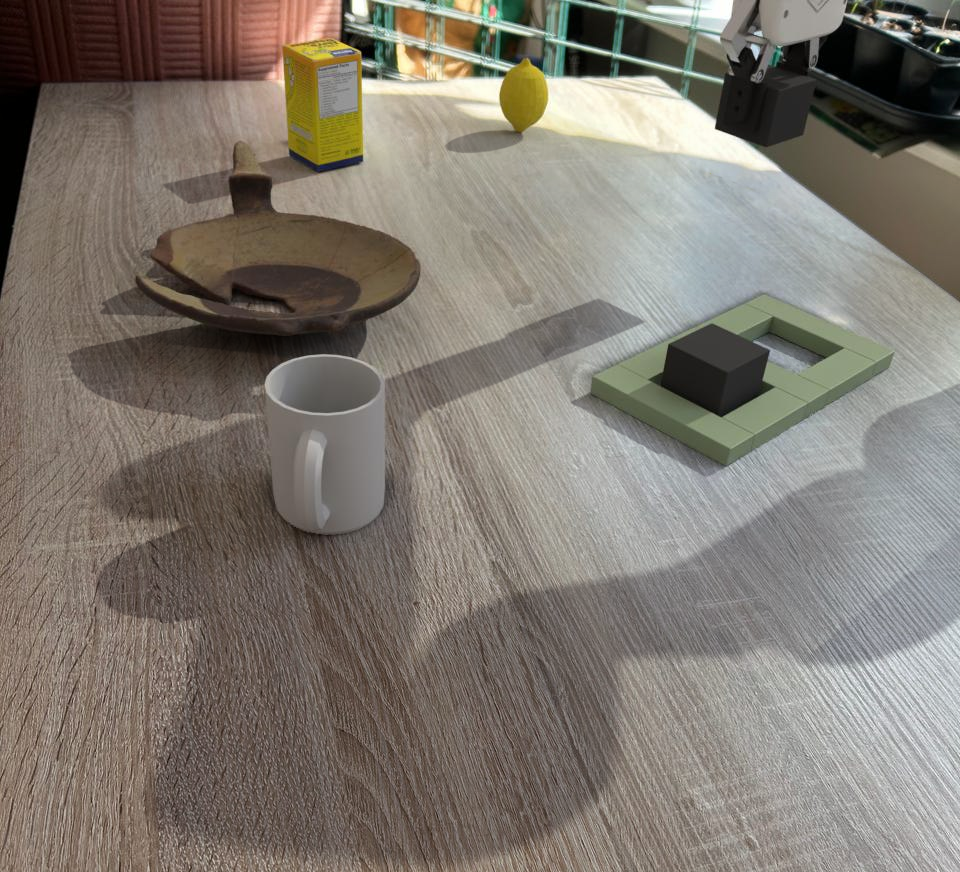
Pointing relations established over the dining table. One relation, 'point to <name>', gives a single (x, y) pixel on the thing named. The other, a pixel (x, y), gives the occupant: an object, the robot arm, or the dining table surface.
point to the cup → (327, 442)
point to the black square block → (775, 107)
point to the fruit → (523, 95)
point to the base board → (780, 389)
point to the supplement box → (323, 103)
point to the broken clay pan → (280, 264)
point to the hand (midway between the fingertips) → (761, 120)
